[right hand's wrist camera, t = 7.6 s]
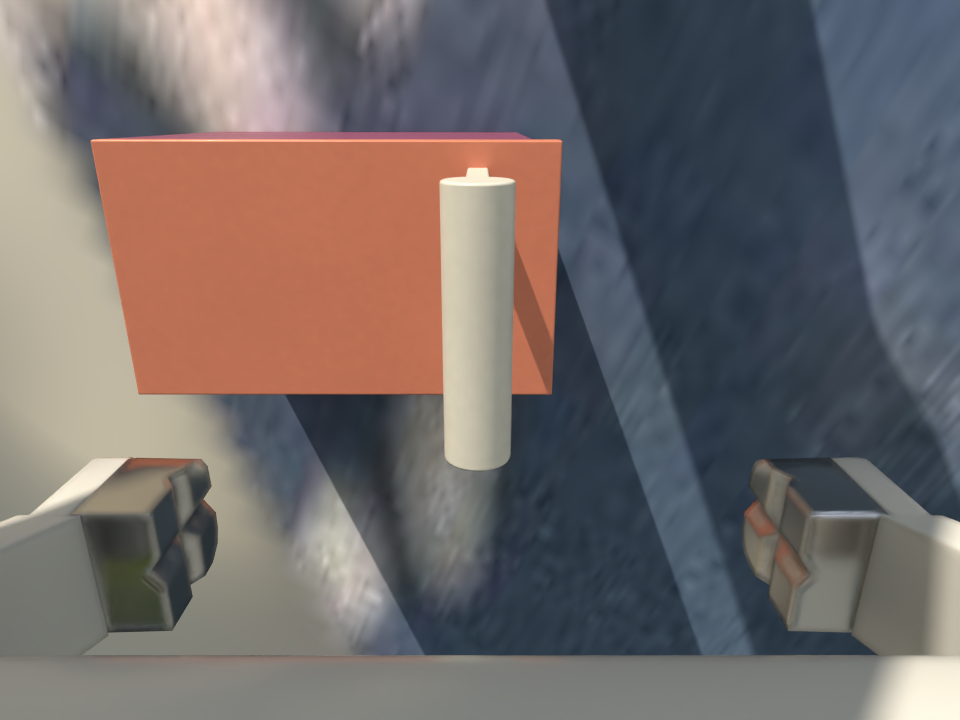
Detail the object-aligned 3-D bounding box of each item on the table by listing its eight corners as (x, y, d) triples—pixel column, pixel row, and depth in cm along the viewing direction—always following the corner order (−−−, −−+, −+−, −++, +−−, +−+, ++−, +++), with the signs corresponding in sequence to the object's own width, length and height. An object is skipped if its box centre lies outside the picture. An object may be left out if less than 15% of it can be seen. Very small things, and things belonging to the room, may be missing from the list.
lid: (559, 139, 23) (599, 151, 16) (549, 385, 26) (578, 495, 19) (105, 138, 23) (-79, 150, 16) (150, 384, 26) (15, 495, 19)
